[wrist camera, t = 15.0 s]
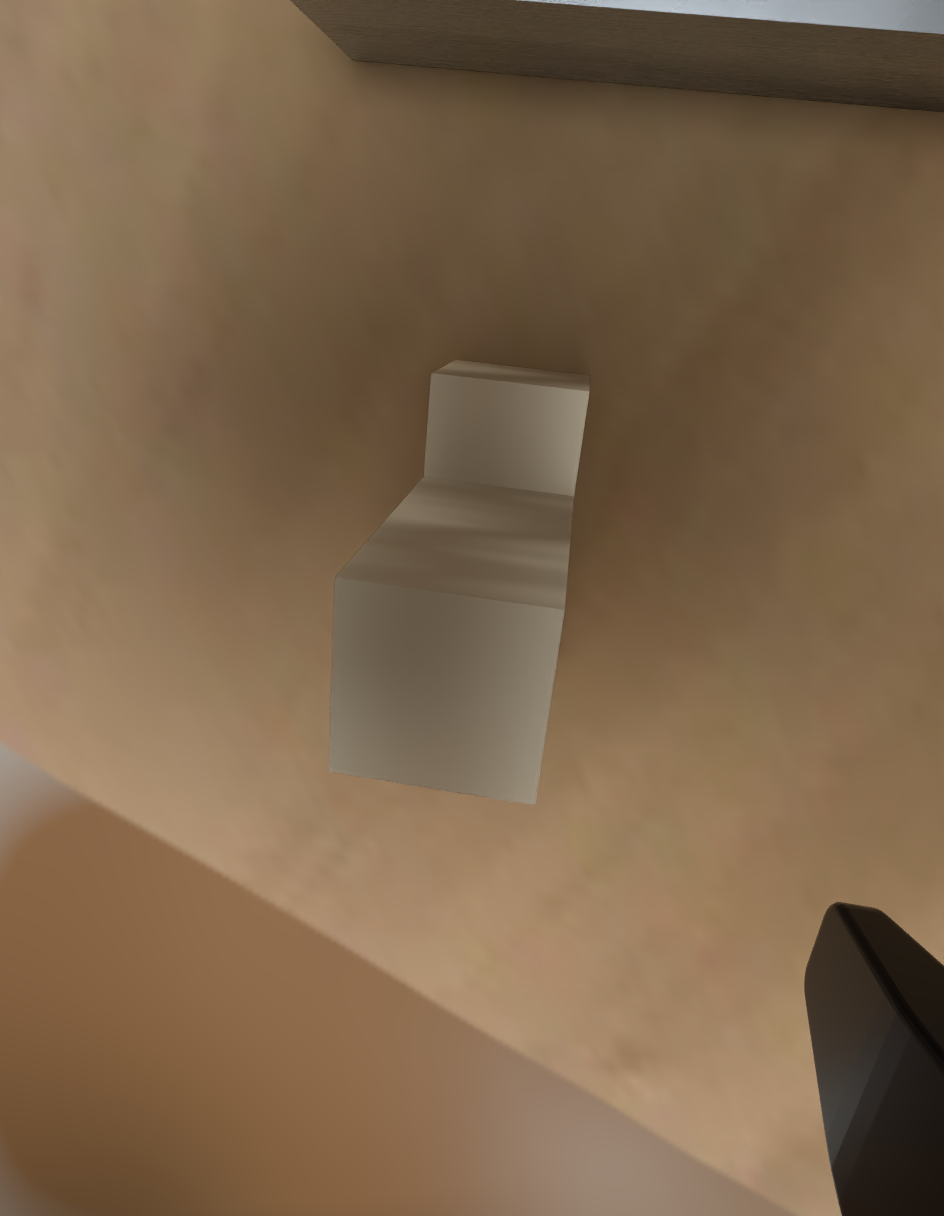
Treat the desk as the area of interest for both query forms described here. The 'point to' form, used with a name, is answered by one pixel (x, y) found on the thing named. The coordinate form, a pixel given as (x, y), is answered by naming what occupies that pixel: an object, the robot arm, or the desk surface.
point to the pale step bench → (464, 592)
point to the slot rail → (665, 43)
